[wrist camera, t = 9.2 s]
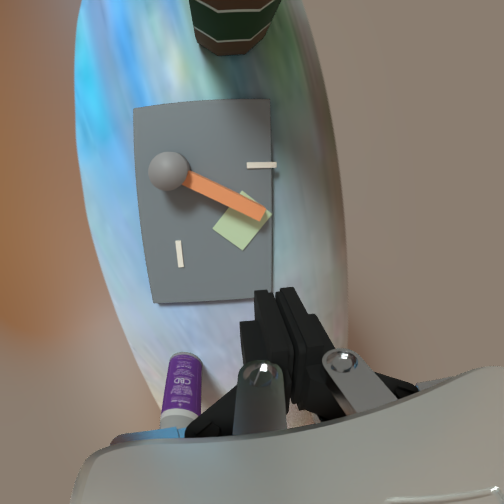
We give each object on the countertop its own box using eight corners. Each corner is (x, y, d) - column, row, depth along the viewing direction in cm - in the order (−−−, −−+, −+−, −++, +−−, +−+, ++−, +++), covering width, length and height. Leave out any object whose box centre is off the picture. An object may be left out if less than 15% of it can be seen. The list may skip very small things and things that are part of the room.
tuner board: (136, 110, 24) (132, 108, 23) (272, 101, 26) (275, 99, 25) (155, 298, 32) (153, 304, 31) (273, 291, 33) (275, 296, 32)
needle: (149, 179, 26) (142, 181, 23) (164, 146, 25) (158, 145, 22) (252, 226, 29) (255, 234, 26) (268, 196, 28) (273, 200, 25)
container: (192, 348, 35) (187, 440, 21) (207, 370, 37) (208, 459, 23) (163, 356, 35) (147, 445, 21) (179, 378, 37) (171, 463, 23)
